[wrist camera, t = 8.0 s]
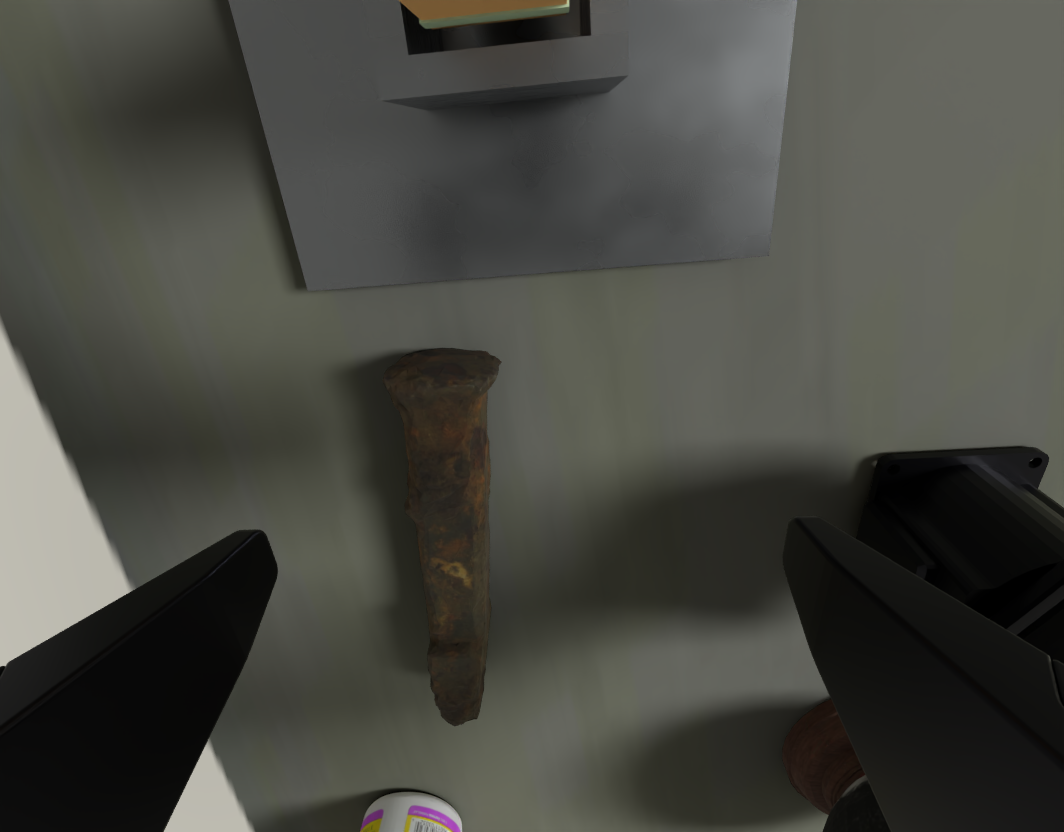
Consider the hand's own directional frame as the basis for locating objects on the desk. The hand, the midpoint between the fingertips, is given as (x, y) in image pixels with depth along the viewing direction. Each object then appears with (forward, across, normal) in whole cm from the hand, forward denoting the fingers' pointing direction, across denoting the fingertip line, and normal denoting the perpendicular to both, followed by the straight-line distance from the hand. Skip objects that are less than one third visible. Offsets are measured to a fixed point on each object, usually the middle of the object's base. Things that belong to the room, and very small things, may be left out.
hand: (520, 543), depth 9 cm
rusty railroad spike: (+13, +4, +10) cm, 17 cm away
